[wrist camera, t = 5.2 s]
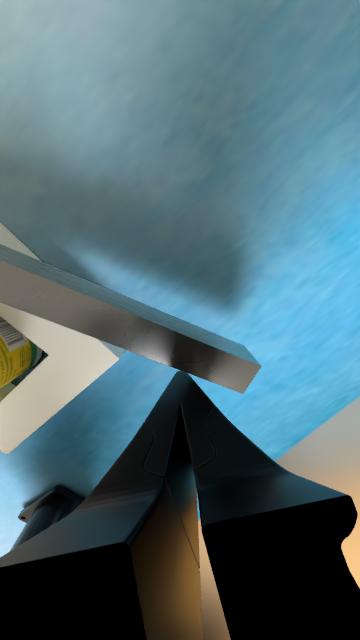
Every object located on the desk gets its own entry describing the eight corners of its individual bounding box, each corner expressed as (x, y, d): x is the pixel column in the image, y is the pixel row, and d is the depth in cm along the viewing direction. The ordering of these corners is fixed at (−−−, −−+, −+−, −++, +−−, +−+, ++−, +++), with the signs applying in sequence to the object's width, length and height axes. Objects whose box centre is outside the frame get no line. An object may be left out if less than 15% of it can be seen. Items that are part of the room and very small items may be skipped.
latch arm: (-154, 226, 7) (-287, 210, 5) (-162, 166, 7) (-319, 119, 5) (227, 374, 10) (240, 403, 8) (248, 339, 9) (268, 361, 7)
